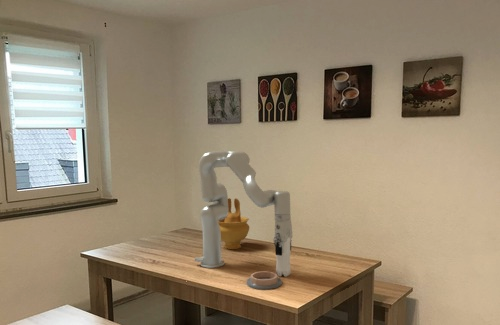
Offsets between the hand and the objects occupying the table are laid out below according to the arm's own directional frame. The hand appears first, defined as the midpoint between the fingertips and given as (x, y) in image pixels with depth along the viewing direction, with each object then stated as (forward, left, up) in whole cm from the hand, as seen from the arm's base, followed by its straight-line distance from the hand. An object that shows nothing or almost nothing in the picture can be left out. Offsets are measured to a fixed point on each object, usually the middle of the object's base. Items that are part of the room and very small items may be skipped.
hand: (283, 252), depth 191 cm
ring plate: (-11, -9, -11) cm, 18 cm away
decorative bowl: (-19, +58, -11) cm, 62 cm away
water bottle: (0, 0, -11) cm, 11 cm away
